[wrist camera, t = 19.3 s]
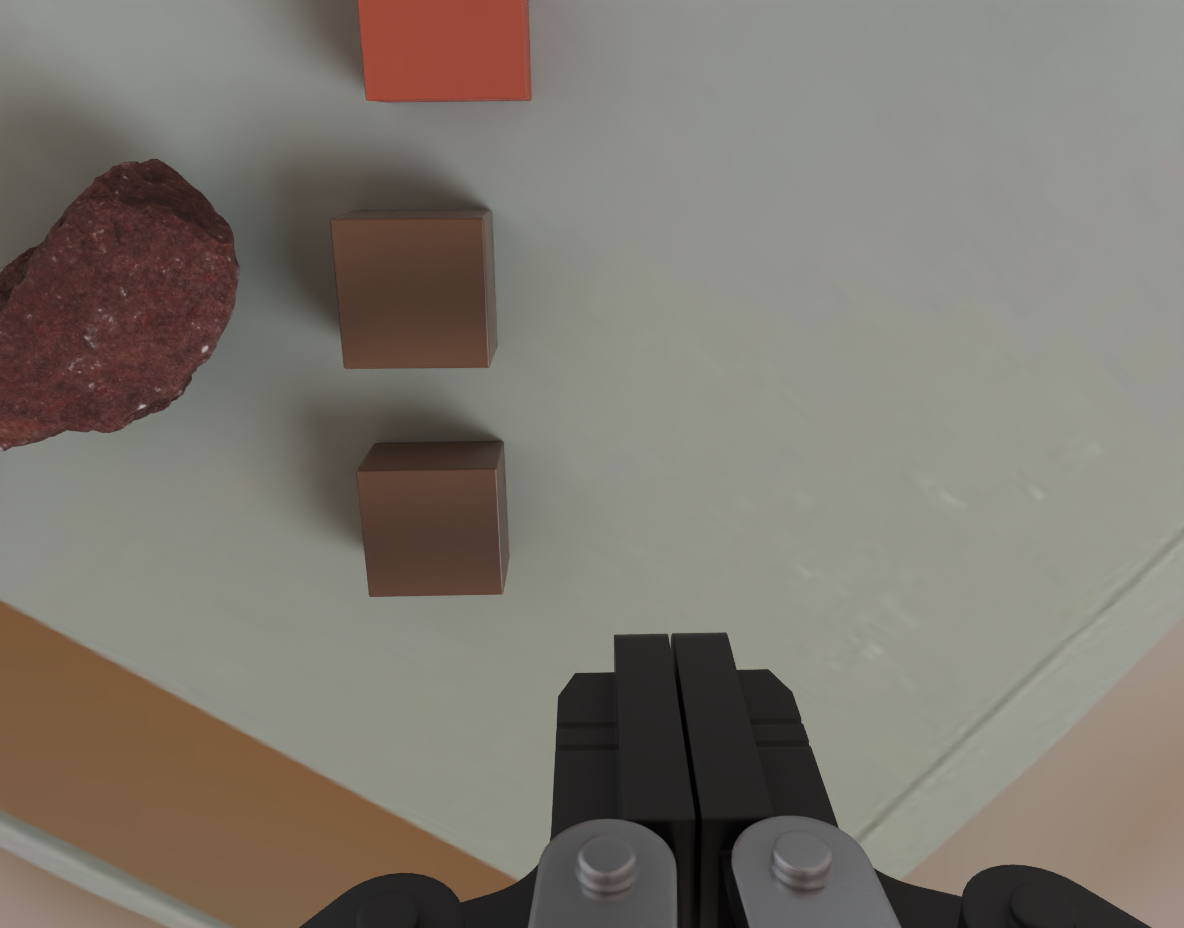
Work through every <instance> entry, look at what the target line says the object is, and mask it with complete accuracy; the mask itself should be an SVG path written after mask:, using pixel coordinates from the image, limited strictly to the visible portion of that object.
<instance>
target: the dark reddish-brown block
mask: <svg viewBox="0 0 1184 928" xmlns="http://www.w3.org/2000/svg"><path fill="white" fill-rule="evenodd" d="M356 474H357V484H358V494H359V503H360V513H361V522H362V532H363V542H364V551H365V561H366V570H367V580H368V590H369V596H370V597H387V596H441V595H494V594H503V592H504V586H505V580H506V574H507V568H508V562H509V541H508V520H507V500H506V479H505V459H504V442H503V441H481V442H425V443H375V444H374V445H373V447H372V448H371V450H370V451H369V453H368V454H367V456H366V458H365V459H364V461H363V462H362V464H361V465H360V467H359V468H358V470H357V472H356Z"/></svg>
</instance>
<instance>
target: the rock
mask: <svg viewBox="0 0 1184 928" xmlns="http://www.w3.org/2000/svg"><path fill="white" fill-rule="evenodd" d="M239 268H240V267H239V264H238V262H237V259H236V256H235V250H234V237H233V232H232V230H231V228H230V226H229V224H228V223H227V222H226V221H225V220H224V218H223V217H221V216H220V215H219V214H217V213H216V212H215V210H214V208H213V206H212V205H211V203H210V202H209V201H208V200H207V199H206V198H205V196H204V195H203V194H202V193H201V192H200V191H198V190H197V189H195V188H194V187H193V186H191V185H190V184H189V183H188V182H187V181H186V180H184V179H183V177H182V176H181V175H180V174H179V173H178V172H176V171H175V170H174V169H172V168H171V167H169V166H168V165H167V164H165V163H163V162H162V161H160V160H159V159H150V160H149V161H146V162H144V163H141V164H140V163H138V162H123V163H122V164H120V165H117V166H113V167H112V168H111V169H110V170H109V171H108V172H107V173H105V174H103V175H102V176H99V177H97V178H96V179H95V181H94V182H93V184H92V186H90V187H89V188H87V189H86V190H85V191H84V192H83V193H82V194H81V195H80V196H79V197H78V198H77V199H76V200H75V201H74V202H73V203H72V204H71V205H70V206H69V207H68V208H67V209H66V210H65V212H64V214H63V216H62V217H61V218H60V219H59V220H58V222H57V223H56V224H55V225H54V226H53V227H52V228H51V230H50V232H49V234H48V235H47V237H46V239H45V241H44V242H42V243H41V244H40V245H38V246H37V247H33V248H30V249H28V250H27V251H26V252H25V253H23V254H21V255H19V256H18V257H17V258H16V259H15V260H14V261H13V262H11V263H10V264H8V265H7V266H6V267H5V268H4V269H3V271H2V272H1V274H0V451H6V450H7V449H9V448H11V447H15V446H24V445H27V444H30V443H35V442H39V441H43V440H45V439H46V438H48V437H52V436H56V435H58V434H60V433H62V432H64V431H66V430H70V431H79V432H89V431H91V430H95V431H99V432H101V433H111V432H114V431H118V430H121V429H123V428H125V427H127V426H129V425H130V424H131V423H132V422H133V421H134V420H138V419H141V418H143V417H146V416H147V415H149V414H150V413H156V412H159V411H162V410H164V409H166V408H167V407H168V406H169V405H170V403H171V402H172V401H174V400H177V398H179V397H180V396H181V395H182V394H184V391H185V389H186V387H187V386H188V385H189V383H190V382H191V380H192V376H191V374H193V373H194V372H195V371H196V370H197V367H199V366H200V365H202V364H203V363H205V362H206V361H207V360H208V359H209V358H210V356H211V354H212V353H213V351H214V349H215V348H216V346H217V343H218V341H219V338H220V336H221V334H222V333H223V331H224V329H225V327H226V326H227V324H228V322H229V320H230V318H231V316H232V313H233V309H234V305H235V294H236V289H237V285H238V280H239Z"/></svg>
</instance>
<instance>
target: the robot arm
mask: <svg viewBox="0 0 1184 928" xmlns="http://www.w3.org/2000/svg"><path fill="white" fill-rule="evenodd" d="M299 928H1151V927H1149V926H1148V925H1146V924H1144V923H1143V922H1141V921H1139V920H1137V919H1136V918H1134V917H1133V916H1131V915H1129V914H1128V913H1126V912H1124V911H1123V910H1121V909H1119V908H1117V907H1116V906H1114V905H1112V904H1111V903H1109V902H1107V901H1106V900H1104V899H1102V898H1101V897H1099V896H1097V895H1096V894H1094V893H1092V892H1090V891H1089V890H1087V889H1086V888H1084V887H1082V886H1081V885H1079V884H1077V883H1075V882H1073V881H1071V880H1069V879H1068V878H1066V877H1063V876H1061V875H1058V874H1056V873H1054V872H1050V871H1047V870H1044V869H1041V868H1036V867H1031V866H1025V865H1000V866H996V867H991V868H988V869H986V870H983V871H981V872H979V873H978V874H976V875H975V876H973V877H972V878H971V880H970V881H969V882H968V883H967V885H966V887H965V889H964V891H963V895H962V897H961V896H957V895H952V894H948V893H944V892H939V891H935V890H931V889H926V888H922V887H918V886H914V885H911V884H907V883H904V882H901V881H899V880H896V879H894V878H891V877H889V876H887V875H885V874H883V873H881V872H879V871H878V870H876V869H875V868H873V866H872V864H871V862H870V860H869V858H868V856H867V855H866V853H865V851H864V850H863V849H862V847H861V846H860V845H859V844H858V843H857V842H856V841H855V840H854V839H853V838H852V837H851V836H849V835H848V834H847V833H845V832H843V831H842V830H840V829H839V827H838V824H837V821H836V818H835V816H834V813H833V810H832V807H831V804H830V801H829V798H828V795H827V792H826V789H825V786H824V783H823V781H822V778H821V775H820V772H819V769H818V766H817V763H816V760H815V757H814V754H813V751H812V748H811V746H809V740H808V737H807V734H806V731H805V728H804V725H803V724H802V723H801V716H800V713H799V711H798V708H797V705H796V702H795V699H794V696H793V693H792V691H791V690H789V689H788V688H787V687H786V686H785V685H784V684H783V683H782V682H781V681H780V680H779V679H778V678H777V677H776V676H775V675H774V674H773V673H772V672H771V671H770V670H768V669H762V670H736V666H735V662H734V658H733V654H732V650H731V646H730V642H729V639H728V635H727V633H672V635H671V650H670V643H669V637H668V634H629V635H614V672H611V673H575V674H574V676H573V677H572V678H571V680H570V681H569V683H568V684H567V685H566V687H565V688H564V689H563V691H562V692H561V693H560V695H559V696H558V711H557V730H556V751H555V768H554V788H553V807H552V826H551V838H550V843H549V844H548V845H547V846H546V848H545V849H544V851H543V853H542V855H541V858H540V861H539V864H538V865H537V866H536V867H535V868H534V870H532V871H531V872H530V873H529V874H528V875H527V876H526V877H524V878H523V879H521V880H520V881H518V882H517V883H515V884H513V885H512V886H510V887H507V888H505V889H503V890H500V891H498V892H495V893H492V894H489V895H485V896H482V897H479V898H475V899H472V900H468V901H465V902H461V903H460V901H459V899H458V897H457V896H456V895H455V894H454V893H453V891H452V890H451V889H450V888H449V887H447V886H446V885H445V884H443V883H441V882H440V881H438V880H436V879H434V878H431V877H427V876H425V875H419V874H413V873H397V874H388V875H384V876H379V877H375V878H373V879H370V880H368V881H364V882H362V883H360V884H358V885H357V886H354V887H353V888H351V889H350V890H348V891H347V892H345V893H344V894H342V895H341V896H340V897H338V898H337V899H336V900H334V901H333V902H332V903H331V904H329V905H328V906H327V907H325V908H324V909H323V910H321V911H320V912H319V913H318V914H316V915H315V916H314V917H312V918H311V919H310V920H308V921H307V922H306V923H305V924H303V925H302V926H301V927H299Z"/></svg>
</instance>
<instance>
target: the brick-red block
mask: <svg viewBox="0 0 1184 928" xmlns="http://www.w3.org/2000/svg"><path fill="white" fill-rule="evenodd" d="M358 11H359V22H360V34H361V46H362V58H363V69H364V81H365V93H366V100H369V101H379V102H453V101H530V100H531V73H530V41H529V9H528V0H358Z"/></svg>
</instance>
